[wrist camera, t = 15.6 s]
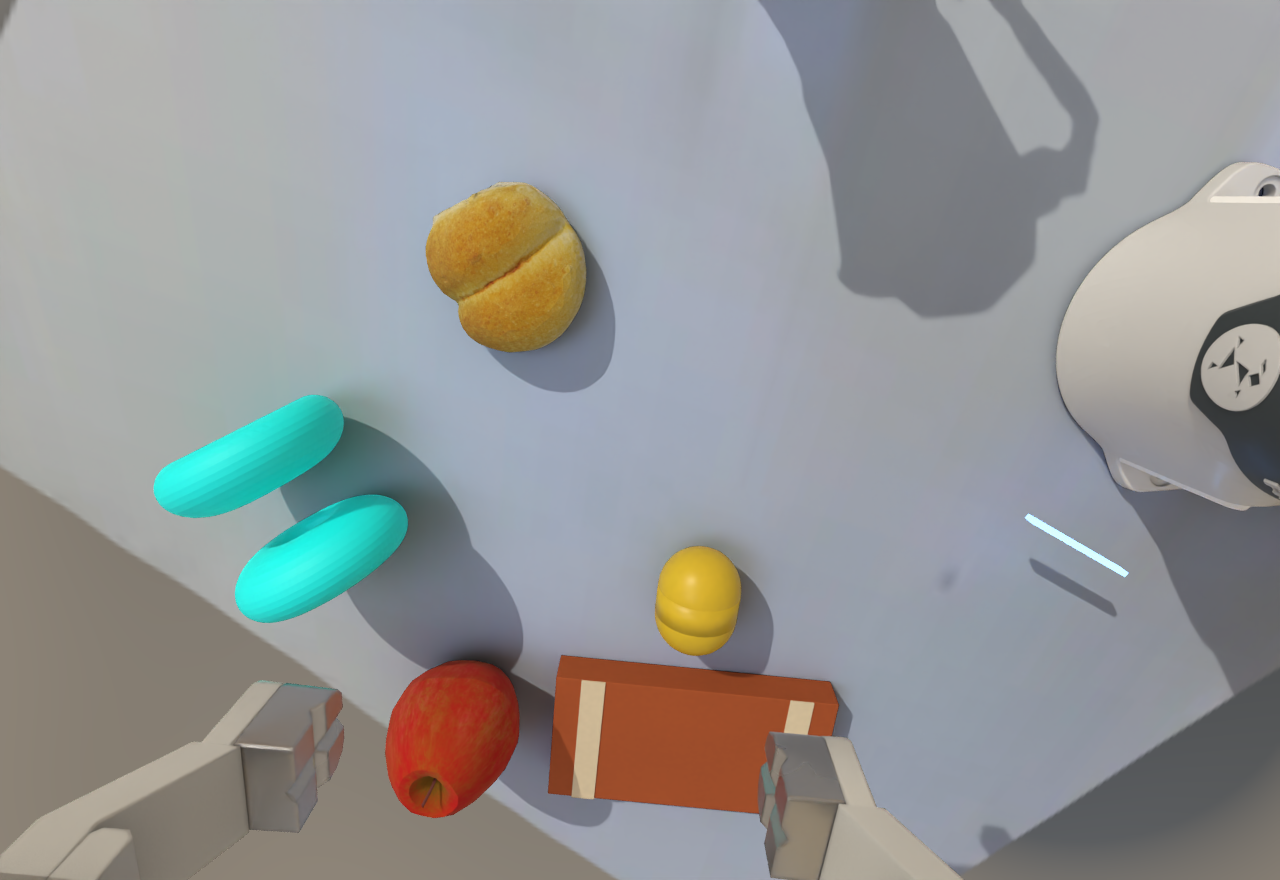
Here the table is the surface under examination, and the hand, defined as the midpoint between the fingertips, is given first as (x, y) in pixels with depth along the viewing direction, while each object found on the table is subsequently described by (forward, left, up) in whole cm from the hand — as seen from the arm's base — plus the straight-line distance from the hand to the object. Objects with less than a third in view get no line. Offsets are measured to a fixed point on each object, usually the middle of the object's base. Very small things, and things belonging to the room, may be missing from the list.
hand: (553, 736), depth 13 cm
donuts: (+18, +8, -29) cm, 35 cm away
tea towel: (-7, +25, -29) cm, 39 cm away
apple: (+8, +23, -29) cm, 38 cm away
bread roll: (+7, -6, -29) cm, 31 cm away
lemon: (-5, +13, -29) cm, 32 cm away
